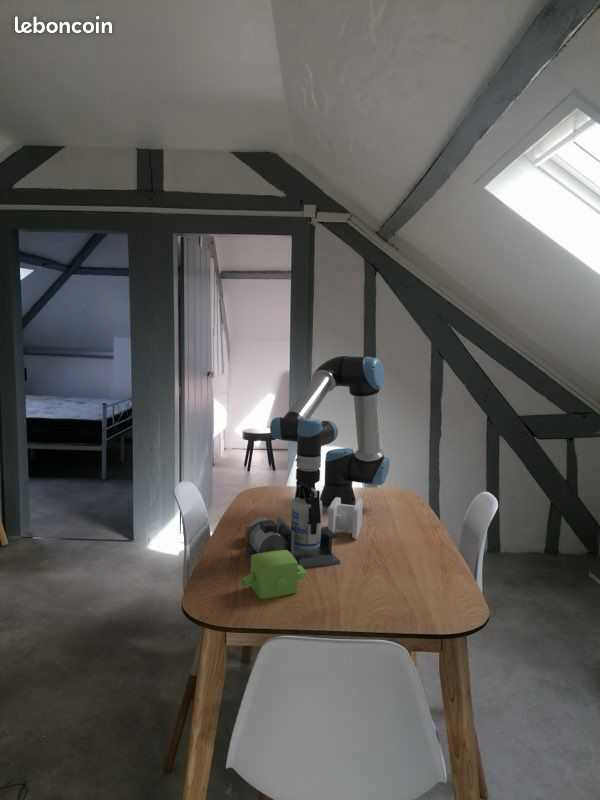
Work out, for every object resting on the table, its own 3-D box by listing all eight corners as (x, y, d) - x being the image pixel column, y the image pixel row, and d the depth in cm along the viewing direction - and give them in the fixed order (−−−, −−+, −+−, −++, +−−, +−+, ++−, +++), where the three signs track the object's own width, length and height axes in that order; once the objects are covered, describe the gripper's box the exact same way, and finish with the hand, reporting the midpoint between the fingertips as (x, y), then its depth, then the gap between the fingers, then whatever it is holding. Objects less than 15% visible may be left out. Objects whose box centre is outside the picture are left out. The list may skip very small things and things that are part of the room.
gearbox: (245, 607, 141) (246, 572, 140) (234, 589, 150) (235, 556, 149) (309, 595, 148) (310, 562, 147) (295, 578, 157) (296, 547, 156)
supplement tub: (285, 548, 172) (286, 502, 170) (296, 538, 180) (298, 494, 179) (314, 553, 168) (316, 506, 167) (324, 543, 177) (326, 498, 175)
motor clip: (320, 542, 186) (321, 508, 185) (343, 563, 170) (344, 526, 168) (242, 551, 177) (243, 515, 175) (258, 573, 160) (259, 534, 159)
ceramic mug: (242, 545, 181) (243, 523, 181) (251, 537, 189) (251, 515, 189) (273, 550, 179) (274, 527, 178) (280, 541, 187) (281, 519, 186)
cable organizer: (356, 542, 188) (357, 509, 186) (325, 539, 190) (327, 506, 189) (362, 528, 202) (363, 497, 201) (333, 525, 205) (334, 495, 203)
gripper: (285, 461, 181) (283, 527, 183) (310, 477, 160) (307, 551, 162) (306, 460, 183) (304, 525, 186) (334, 476, 163) (330, 549, 165)
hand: (305, 537), depth 174 cm, fingers closed on supplement tub, 9 cm apart
